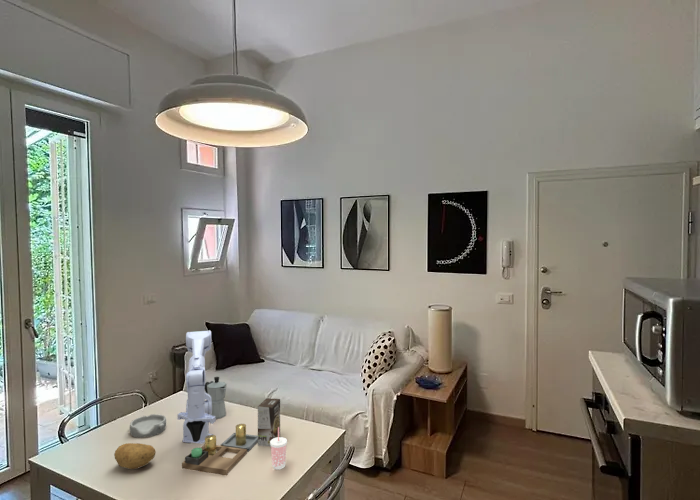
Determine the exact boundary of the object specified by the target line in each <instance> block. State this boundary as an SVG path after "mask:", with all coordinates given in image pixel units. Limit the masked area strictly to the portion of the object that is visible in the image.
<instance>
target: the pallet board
mask: <svg viewBox="0 0 700 500" xmlns="http://www.w3.org/2000/svg"><path fill="white" fill-rule="evenodd" d="M200 448H202V456H201V457H200V458H191V452H190V453H189V454H188V455H186V456H185V458H184V461H183V462H181V469H182V470H188V471H195V472H202V473H208V474H212V475H214V474H215V475H220V476H225V477H227V476H228V475H229V473H230V471H231V470H232V469H233V468H234V467H235V466H236V465H237V464H238V463H239V462H240V461H241V460H242V459H243V458H244V457H245V456H246V455H247V453H248V452H247V449H241V448H234V447H226V446H221V445H219V444H216V453H215V454H214V455H213V456H212V455H208V451H205V443H203V445H202V446H201V447H200ZM227 453H232V454H235V455H234V456H233V457H225V456H224V455H225V454H227Z"/></svg>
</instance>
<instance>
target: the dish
mask: <svg viewBox="0 0 700 500" xmlns="http://www.w3.org/2000/svg"><path fill="white" fill-rule="evenodd" d="M166 427H167V418H166V416H165V415H163V414H159V413H158V414H155V413H151V414H150V415H143V416H139V417H136V418H134V419H133V420H131V422H130V423H129V432H130V435H131V436H132V437H134V438H141V439H142V438H149V437H153V436H156V435H159V434H161V433H163V432H164V431H165V430H166Z"/></svg>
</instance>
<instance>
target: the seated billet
mask: <svg viewBox="0 0 700 500" xmlns="http://www.w3.org/2000/svg"><path fill="white" fill-rule="evenodd" d="M204 444H205V451H208V455H212V456H213V455H214V454H215V453H216V452H217V450H216V445H217V435H215V434H213V435H212V434H210V435H209V436H206V437H205V442H204Z"/></svg>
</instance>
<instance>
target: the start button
mask: <svg viewBox="0 0 700 500" xmlns="http://www.w3.org/2000/svg"><path fill="white" fill-rule="evenodd" d="M190 453H191V458H200V457H201V456H202V448H201V447H194V448H193V449H191V452H190Z"/></svg>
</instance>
